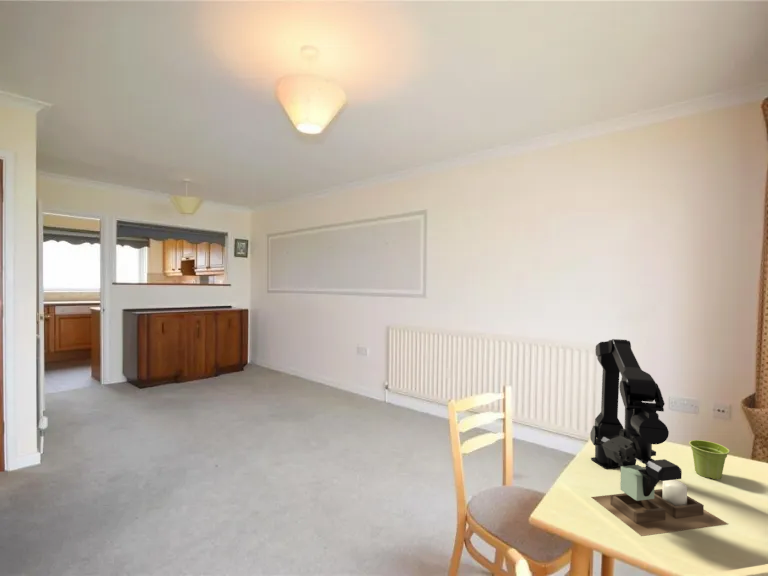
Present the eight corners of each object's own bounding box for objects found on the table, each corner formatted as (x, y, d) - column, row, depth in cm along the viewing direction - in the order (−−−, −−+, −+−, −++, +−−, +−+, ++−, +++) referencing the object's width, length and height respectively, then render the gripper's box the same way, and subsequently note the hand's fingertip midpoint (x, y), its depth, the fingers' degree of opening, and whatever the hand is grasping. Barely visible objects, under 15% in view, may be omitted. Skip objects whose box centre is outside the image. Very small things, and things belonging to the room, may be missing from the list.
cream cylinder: (657, 502, 101) (657, 479, 100) (673, 500, 102) (673, 478, 101) (675, 514, 96) (675, 490, 96) (692, 512, 97) (692, 488, 96)
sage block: (637, 487, 99) (637, 464, 99) (654, 498, 95) (654, 474, 94) (620, 489, 99) (620, 466, 98) (636, 500, 94) (637, 476, 94)
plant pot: (737, 480, 114) (737, 450, 114) (714, 484, 112) (714, 454, 111) (703, 465, 123) (703, 438, 123) (681, 469, 121) (681, 441, 120)
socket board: (591, 500, 103) (591, 487, 103) (667, 491, 108) (667, 479, 108) (641, 540, 88) (641, 524, 87) (728, 528, 92) (728, 513, 92)
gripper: (583, 416, 104) (582, 474, 104) (641, 446, 86) (640, 516, 86) (619, 414, 106) (618, 470, 106) (684, 442, 88) (682, 510, 88)
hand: (637, 490), depth 97 cm, fingers closed on sage block, 5 cm apart
